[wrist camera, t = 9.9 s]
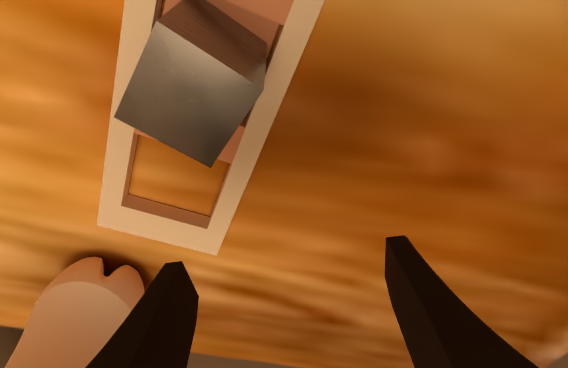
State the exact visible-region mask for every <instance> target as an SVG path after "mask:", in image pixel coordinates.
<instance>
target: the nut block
mask: <svg viewBox="0 0 568 368" xmlns="http://www.w3.org/2000/svg"><path fill="white" fill-rule="evenodd" d="M266 55H267V43H266V42H265V41H264V40H262V39H261V38H259V37H258V36H256V35H255V34H254V33H252V32H251V31H249V30H248V29H246V28H245V27H244V26H242V25H241V24H239V23H238V22H237V21H235V20H234V19H232V18H231V17H229V16H228V15H227V14H225V13H224V12H222V11H221V10H219V9H218V8H217V7H215V6H214V5H212V4H211V3H209V2H208V1H207V0H181V1H180V2H179V3H178V4H176V5H175V6H174V7H173V8H171V9H170V10H169V11H168V12H166V13H165V14H164V15H163V16H162V17H160V18H159V19H158V20H157V21H156V23H155V25H154V27H153V29H152V32H151V34H150V36H149V38H148V41H147V43H146V45H145V47H144V50H143V52H142V54H141V56H140V59H139V61H138V63H137V66H136V68H135V70H134V72H133V75H132V77H131V79H130V81H129V84H128V86H127V88H126V90H125V93H124V95H123V97H122V99H121V102H120V104H119V106H118V108H117V111H116V113H115V115H114V118H116V119H118V120H120V121H122V122H124V123H126V124H128V125H130V126H131V127H133V128H135V129H137V130H139V131H141V132H143V133H145V134H147V135H149V136H151V137H153V138H155V139H156V140H158V141H160V142H162V143H164V144H166V145H168V146H170V147H172V148H174V149H176V150H178V151H179V152H181V153H183V154H185V155H187V156H189V157H191V158H193V159H195V160H197V161H199V162H201V163H203V164H204V165H206V166H208V167H210V168H211V167H212V165H213V164H214V162H215V161H216V159H217V158H218V156H219V155H220V153H221V152H222V150H223V149H224V147H225V146H226V145H227V143H228V142H229V140H230V139H231V137H232V136H233V134H234V133H235V131H236V130H237V128H238V127H239V125H240V124H241V122H242V121H243V120H244V118H245V117H246V115H247V114H248V112H249V111H250V109H251V108H252V106H253V105H254V103H255V102H256V100H257V99H258V97H259V96H260V95H261V93H262V92H263V90H264V80H265V68H266Z"/></svg>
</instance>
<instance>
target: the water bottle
mask: <svg viewBox="0 0 568 368" xmlns="http://www.w3.org/2000/svg"><path fill="white" fill-rule="evenodd" d="M143 294H144V286H143V282H142V279H141V277H140V275H139V273H138V272H137V271H136V270H135V269H134V268H133V267H131V266H129V265H123V266H121V267H119V268H118V269H117V270H115V271H114V272H113V273H112V274H111V275H110V276H108V277H107V276H104V264H103V260H102V258H99V257H88V258H83V259H81V260H79V261H77V262H75V263H73V264H72V265H70V266H69V267H67V268H66V269H65V270H63V271H62V272H61V273H60V274H59V275H58V276H57V277H56V278H55V279H54V280H53V281H52V282H51V283H50V284H49V285H48V286H47V287H46V288H45V289H44V290H43V292H42V293H41V295H40V296H39V298H38V300H37V301H36V303H35V304H34V307H33V309H32V312H31V314H30V317H29V320H28V323H27V325H26V327H25V330H24V332H23V334H22V337H21V339H20V341H19V343H18V345H17V347H16V349H15V351H14V352H13V354H12V356H11V358H10V359H9V361H8V363H7V365H6V366H5V368H85V367H86V366H87V365H88V364H89V363H90V362H91V361H92V359H93V358H94V357H95V356H96V355H97V354H98V353H99V351H100V350H101V349H102V348H103V347H104V345H105V344H106V343H107V342H108V341H109V339H110V338H111V337H112V335H113V334H114V333H115V332H116V330H117V329H118V328H119V327H120V325H121V324H122V323H123V322H124V320H125V319H126V318H127V316H128V315H129V314H130V312H131V311H132V309H133V308H134V307H135V305H136V304H137V303H138V301H139V300H140V298H141V297H142V296H143Z"/></svg>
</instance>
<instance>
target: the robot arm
mask: <svg viewBox="0 0 568 368" xmlns="http://www.w3.org/2000/svg"><path fill="white" fill-rule="evenodd" d="M385 279H386V283H387V288H388V292H389V296H390V300H391V304H392V307H393V309H394V312H395V315H396V318H397V321H398V323H399V326H400V329H401V332H402V334H403V337H404V340H405V342H406V345H407V348H408V351H409V353H410V356H411V359H412V362H413V364H414V367H415V368H539V367H537V366H536V365H535V364H533V363H532V362H531V361H529V360H528V359H527V358H525V357H524V356H523V355H521V354H520V353H519V352H518V351H516V350H515V349H514V348H513V347H512V346H510V345H509V344H508V343H507V342H506V341H504V340H503V339H502V338H501V337H500V336H498V335H497V334H496V333H495V332H494V331H493V330H492V329H491V328H489V327H488V326H487V325H486V324H485V323H484V322H483V321H482V320H481V319H479V318H478V317H477V316H476V315H475V314H474V313H473V312H472V311H471V310H470V309H469V308H468V307H467V306H466V305H465V304H464V303H463V302H462V301H461V300H460V299H459V298H458V297H457V296H456V295H455V294H454V293H453V292H452V291H451V290H450V289H449V287H448V286H447V285H446V284H445V283H444V282H443V281H442V280H441V279H440V278H439V276H438V275H437V274H436V273H435V272H434V271H433V270H432V269H431V267H430V266H429V265H428V264H427V263H426V261H425V260H424V259H423V258H422V256H421V255H420V254H419V253H418V251H417V250H416V249H415V248H414V246H413V245H412V244H411V242H410V241H409V239H408V238H407V237H406V236H395V237H387V238H386V253H385ZM198 299H199V296H198V294H197V292H196V290H195V288H194V285H193V283H192V281H191V279H190V277H189V275H188V273H187V271H186V269H185V267H184V265H183V263H182V261H180V262H172V263H165V265H164V266H163V267H162V269H161V270H160V271H159V273H158V274H157V276H156V277H155V279H154V280H153V281H152V283H151V284H150V286H149V287H148V289H147V290H146V291H145V293H144V294H143V296H142V297H141V298H140V300H139V301H138V303H137V304H136V305H135V307H134V308H133V309H132V311H131V312H130V314H129V315H128V316H127V318H126V319H125V320H124V322H123V323H122V324H121V325H120V327H119V328H118V329H117V330H116V332H115V333H114V334H113V335H112V337H111V338H110V339H109V341H108V342H107V343H106V344H105V345H104V347H103V348H102V349H101V350H100V351H99V353H98V354H97V355H96V356H95V357H94V358H93V359H92V361H91V362H90V363H89V364H88V365H87V366H86V367H85V368H186V367H187V363H188V358H189V354H190V349H191V345H192V340H193V336H194V331H195V327H196V319H197V310H198Z"/></svg>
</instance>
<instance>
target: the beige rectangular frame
mask: <svg viewBox="0 0 568 368" xmlns="http://www.w3.org/2000/svg"><path fill="white" fill-rule="evenodd" d="M180 1H181V0H165V4H164V10H163V15H164V14H165V13H166V12H168V11H169V10H170V9H171V8H173V7H174V6H175V5H176V4H178V3H179V2H180ZM207 1H208V2H209V3H211V4H212V5H214V6H215V7H217V8H218V9H219V10H221V11H222V12H224V13H225V14H227V15H228V16H229V17H231V18H232V19H234V20H235V21H237V22H238V23H239V24H241V25H242V26H244V27H245V28H246V29H248V30H249V31H251V32H252V33H254V34H255V35H256V36H258V37H259V38H261V39H262V40H264V41H265V42H266V43H267V55H266V59H267V56H268V53H269V51H270V48H271V45H272V42H273V40H274V37H275V34H276V32H277V29H278V26H279V24H281V25H282V26H281V29H280V31H279V34H278V37H277V39H276V42H275V45H274V47H273V50H272V53H271V56H270V58H269V61H268V64H267V66H266V69H265V80H264V90H263V92H262V93H261V95H260V96H259V97H258V99H257V100H256V102H255V103H254V105H253V106H252V108H251V109H250V112H249V114H248V117H247V118H246V117H245V118H244V120H243V121H242V122H241V124H240V125H239V127H238V128H237V130H236V131H235V133H234V134H233V136H232V137H231V139H230V140H229V142H228V143H227V145H226V146H225V147H224V149H223V150H222V152H221V153H220V155H219V156H218V158H217V160H220V161H223V162H226V163H230V165H229V168H228V170H227V173H226V176H225V179H224V181H223V184H222V187H221V189H220V192H219V195H218V197H217V200H216V203H215V205H214V208H213V211H212V213H211V216H210V217H208V216H205V215H201V214H197V213H194V212H190V211H187V210H183V209H179V208H176V207H172V206H169V205H165V204H161V203H158V202H154V201H151V200H147V199H143V198H140V197H136V196H133V195H129V194H128V189H129V183H130V178H131V172H132V167H133V161H134V156H135V150H136V145H137V139H138V134H139V135H142V136H145V137H148V138H151V139H154V140H156V139H155V138H153V137H151V136H149V135H147V134H145V133H143V132H141V131H139V130H137V129H135V128H133V127H131V126H130V125H128V124H126V123H124V122H122V121H120V120H118V119H116V118H114V115H115V113H116V111H117V108H118V106H119V104H120V102H121V99H122V97H123V95H124V93H125V90H126V88H127V86H128V84H129V81H130V79H131V77H132V75H133V72H134V70H135V68H136V66H137V63H138V61H139V59H140V56H141V54H142V52H143V50H144V47H145V45H146V43H147V41H148V38H149V36H150V34H151V32H152V29H153V27H154V25H155V23H156V21H157V20H158V19H159V18H160V13H161V7H162V2H163V0H125V3H124V11H123V19H122V27H121V35H120V43H119V52H118V60H117V68H116V76H115V84H114V92H113V100H112V108H111V116H110V124H109V132H108V140H107V148H106V156H105V164H104V172H103V180H102V188H101V196H100V204H99V212H98V220H97V226H101V227H105V228H109V229H113V230H117V231H121V232H125V233H129V234H133V235H137V236H141V237H145V238H149V239H153V240H157V241H161V242H165V243H168V244H172V245H176V246H180V247H184V248H188V249H192V250H196V251H200V252H204V253H208V254H212V255H216V256H217V253H218V251H219V249H220V246H221V244H222V241H223V239H224V237H225V234H226V232H227V230H228V227H229V225H230V223H231V220H232V218H233V216H234V213H235V211H236V209H237V206H238V204H239V201H240V199H241V197H242V194H243V192H244V190H245V187H246V185H247V183H248V180H249V178H250V176H251V173H252V171H253V168H254V166H255V164H256V161H257V159H258V157H259V154H260V152H261V150H262V147H263V145H264V143H265V140H266V138H267V136H268V133H269V131H270V128H271V126H272V124H273V121H274V119H275V117H276V114H277V112H278V110H279V107H280V105H281V103H282V100H283V98H284V95H285V93H286V91H287V88H288V86H289V84H290V81H291V79H292V77H293V74H294V72H295V70H296V67H297V65H298V62H299V60H300V58H301V55H302V53H303V51H304V48H305V46H306V44H307V41H308V39H309V37H310V34H311V32H312V30H313V27H314V25H315V22H316V20H317V18H318V15H319V13H320V11H321V8H322V6H323V4H324V1H325V0H207ZM163 15H162V16H163ZM157 141H158V140H157Z"/></svg>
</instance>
